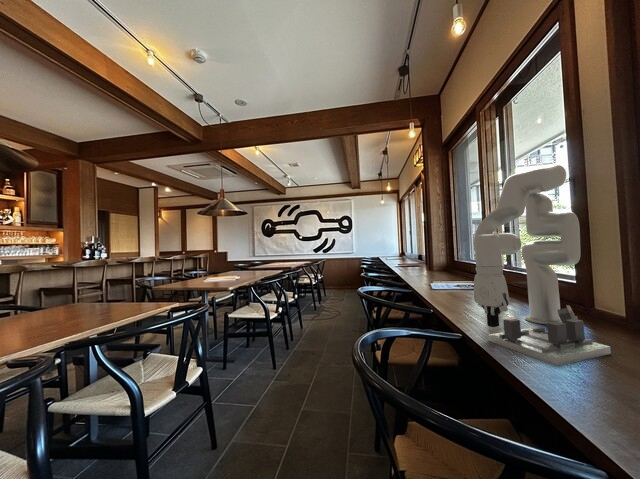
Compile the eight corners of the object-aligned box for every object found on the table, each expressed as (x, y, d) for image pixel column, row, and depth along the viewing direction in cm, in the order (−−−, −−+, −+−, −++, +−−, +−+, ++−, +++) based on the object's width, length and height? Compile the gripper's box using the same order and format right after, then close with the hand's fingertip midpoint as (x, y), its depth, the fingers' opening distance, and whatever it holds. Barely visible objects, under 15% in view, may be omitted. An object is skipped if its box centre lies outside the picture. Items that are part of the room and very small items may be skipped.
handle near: (574, 337, 83) (573, 318, 83) (584, 339, 81) (583, 320, 81) (566, 338, 82) (564, 320, 82) (576, 341, 80) (574, 322, 80)
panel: (534, 332, 96) (533, 324, 96) (610, 353, 76) (609, 342, 76) (488, 340, 91) (487, 331, 91) (557, 365, 71) (556, 353, 71)
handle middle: (557, 340, 81) (555, 321, 81) (567, 343, 79) (565, 323, 79) (548, 342, 80) (547, 322, 81) (558, 344, 78) (556, 325, 78)
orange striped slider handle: (513, 335, 87) (511, 317, 87) (521, 338, 85) (519, 319, 85) (504, 337, 86) (503, 318, 87) (512, 339, 84) (510, 320, 84)
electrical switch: (585, 340, 87) (578, 310, 88) (563, 339, 90) (557, 310, 91) (581, 332, 94) (576, 305, 95) (561, 331, 97) (556, 305, 98)
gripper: (463, 270, 99) (466, 322, 98) (500, 273, 85) (504, 334, 84) (480, 269, 101) (484, 319, 100) (519, 271, 87) (523, 330, 86)
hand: (493, 326), depth 92 cm, fingers closed
